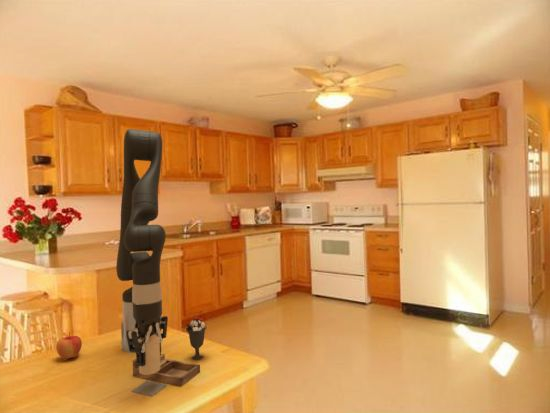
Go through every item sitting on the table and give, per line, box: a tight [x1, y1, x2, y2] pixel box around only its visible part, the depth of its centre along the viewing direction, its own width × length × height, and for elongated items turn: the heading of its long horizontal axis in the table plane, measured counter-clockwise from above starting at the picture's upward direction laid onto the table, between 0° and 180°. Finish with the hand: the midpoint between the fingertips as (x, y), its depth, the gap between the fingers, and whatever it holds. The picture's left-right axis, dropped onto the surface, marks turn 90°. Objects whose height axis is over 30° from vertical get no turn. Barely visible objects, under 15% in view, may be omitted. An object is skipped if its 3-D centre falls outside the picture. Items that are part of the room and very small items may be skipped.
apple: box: [55, 332, 83, 361], centre depth 125 cm, size 7×7×8 cm
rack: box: [132, 358, 201, 387], centre depth 111 cm, size 17×9×5 cm, turn 67°
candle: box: [139, 334, 160, 375], centre depth 103 cm, size 6×6×10 cm
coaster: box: [130, 380, 168, 397], centre depth 103 cm, size 7×6×1 cm
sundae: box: [185, 310, 208, 361], centre depth 122 cm, size 7×7×15 cm
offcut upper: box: [160, 353, 166, 363], centre depth 113 cm, size 4×5×2 cm
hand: (149, 360), depth 103 cm, fingers closed on candle, 5 cm apart
